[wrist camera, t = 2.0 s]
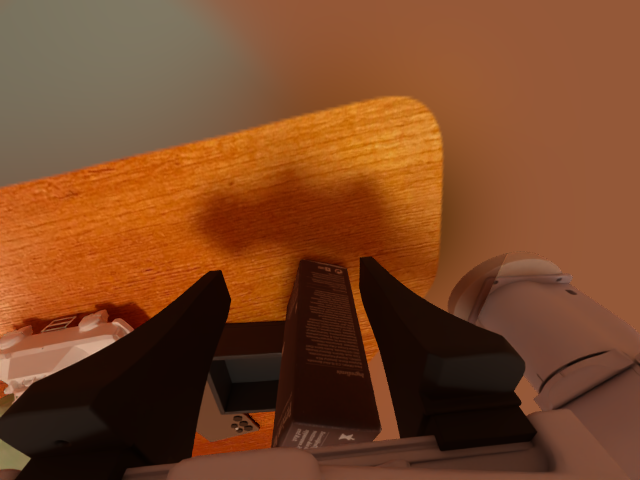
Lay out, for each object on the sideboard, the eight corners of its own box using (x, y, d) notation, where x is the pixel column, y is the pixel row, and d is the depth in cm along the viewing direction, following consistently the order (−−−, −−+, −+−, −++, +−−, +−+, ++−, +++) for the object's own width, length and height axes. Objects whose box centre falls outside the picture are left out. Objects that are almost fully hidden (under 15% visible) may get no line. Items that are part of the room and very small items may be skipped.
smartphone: (191, 365, 25) (260, 432, 33) (193, 360, 26) (260, 427, 33) (129, 383, 26) (210, 444, 34) (133, 378, 27) (211, 439, 34)
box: (296, 256, 20) (290, 425, 10) (347, 266, 21) (393, 431, 10) (282, 308, 23) (264, 482, 12) (327, 315, 24) (347, 484, 13)
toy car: (7, 322, 21) (-105, 406, 16) (134, 297, 21) (69, 373, 15) (56, 362, 24) (-22, 445, 19) (169, 341, 24) (125, 418, 18)
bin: (314, 319, 24) (316, 350, 21) (315, 375, 28) (317, 408, 25) (211, 324, 23) (197, 357, 20) (229, 381, 28) (220, 415, 25)
